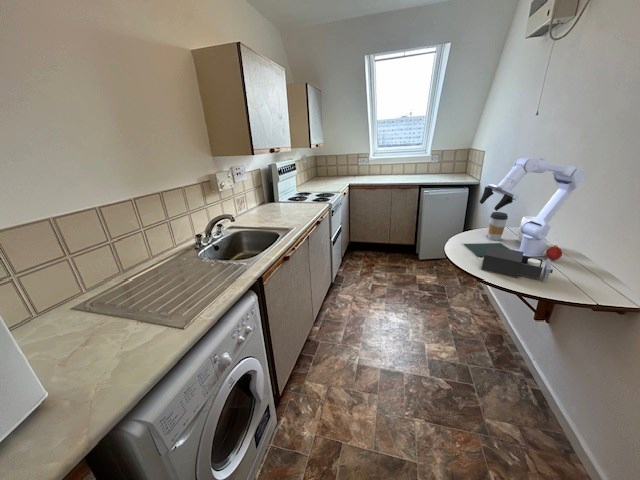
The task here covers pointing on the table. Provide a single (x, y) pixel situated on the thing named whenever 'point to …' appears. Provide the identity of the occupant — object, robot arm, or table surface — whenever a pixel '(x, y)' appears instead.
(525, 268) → the drawer
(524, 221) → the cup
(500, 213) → the coffee cup
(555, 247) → the onion
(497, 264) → the dark grey stepped box
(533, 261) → the container
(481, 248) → the mat
